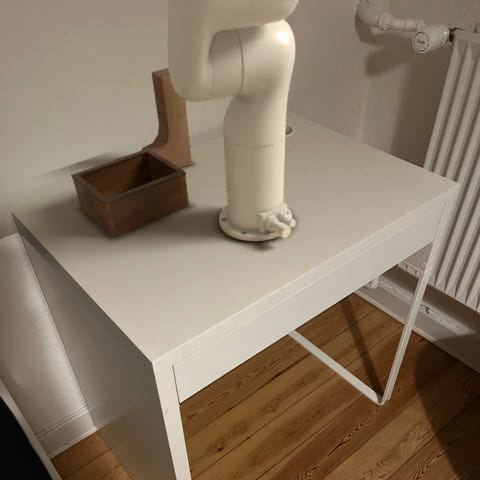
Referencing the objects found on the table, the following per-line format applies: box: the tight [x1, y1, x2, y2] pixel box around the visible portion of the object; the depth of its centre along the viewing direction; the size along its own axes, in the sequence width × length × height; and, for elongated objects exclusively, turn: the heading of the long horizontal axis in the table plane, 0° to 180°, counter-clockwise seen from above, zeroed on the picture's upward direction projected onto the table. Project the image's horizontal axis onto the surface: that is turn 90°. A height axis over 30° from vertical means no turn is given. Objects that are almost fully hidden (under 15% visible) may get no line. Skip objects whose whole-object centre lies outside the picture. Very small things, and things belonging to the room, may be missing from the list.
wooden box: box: [70, 149, 190, 238], centre depth 91 cm, size 13×16×7 cm
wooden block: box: [141, 67, 193, 169], centre depth 98 cm, size 9×4×18 cm, turn 123°
